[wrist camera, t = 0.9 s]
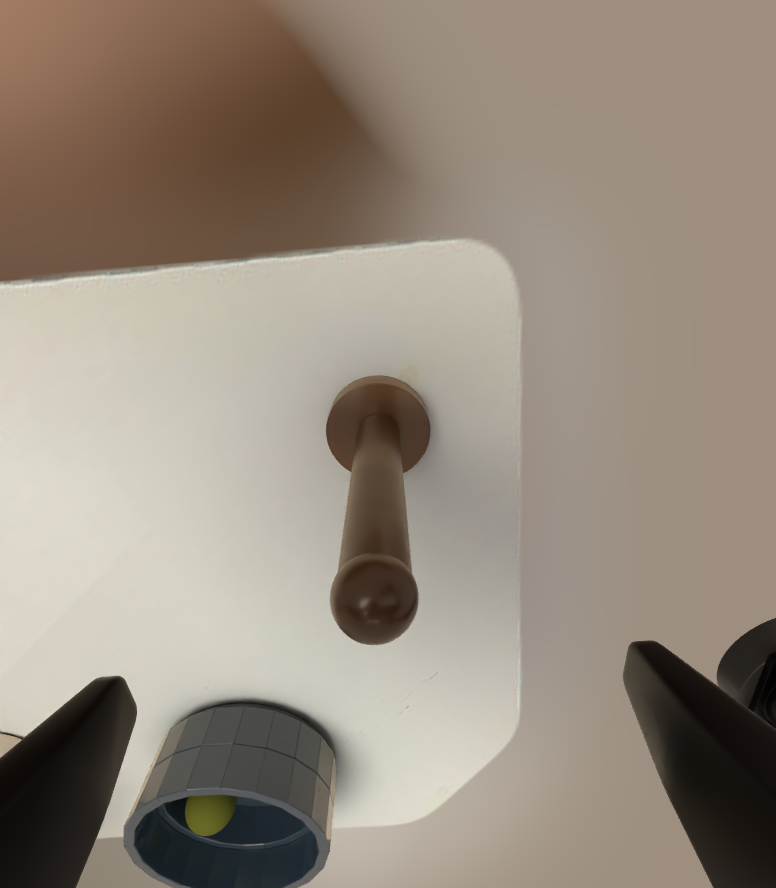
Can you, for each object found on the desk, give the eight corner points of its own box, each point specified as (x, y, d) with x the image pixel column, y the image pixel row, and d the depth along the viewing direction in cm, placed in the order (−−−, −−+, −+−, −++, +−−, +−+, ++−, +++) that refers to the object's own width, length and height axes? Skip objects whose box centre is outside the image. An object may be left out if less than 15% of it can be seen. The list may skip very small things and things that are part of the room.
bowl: (345, 800, 32) (339, 894, 27) (188, 809, 32) (156, 904, 27) (325, 691, 27) (313, 782, 23) (142, 702, 27) (94, 794, 23)
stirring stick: (429, 463, 21) (478, 697, 10) (335, 470, 21) (285, 708, 10) (425, 371, 19) (481, 536, 8) (323, 379, 19) (246, 552, 8)
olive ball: (246, 790, 30) (232, 845, 27) (202, 793, 30) (184, 848, 27) (237, 762, 29) (222, 817, 26) (191, 765, 29) (170, 820, 26)
